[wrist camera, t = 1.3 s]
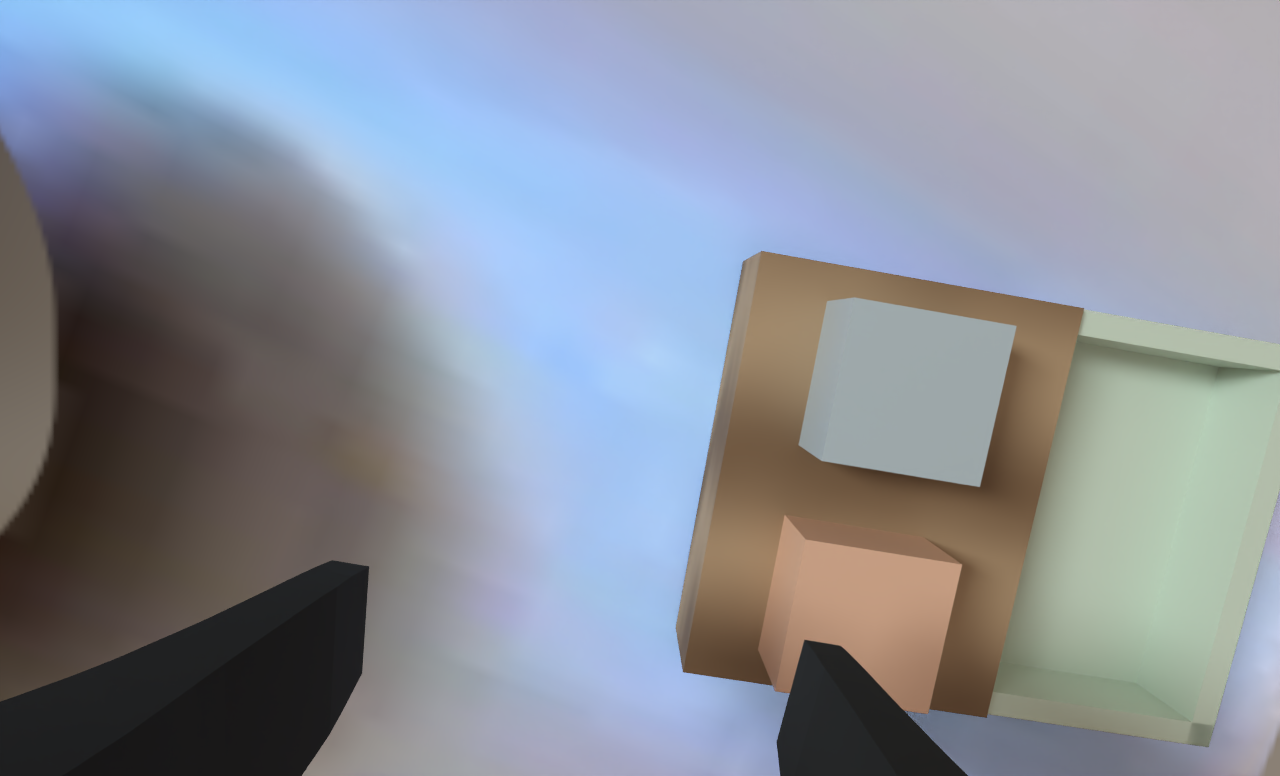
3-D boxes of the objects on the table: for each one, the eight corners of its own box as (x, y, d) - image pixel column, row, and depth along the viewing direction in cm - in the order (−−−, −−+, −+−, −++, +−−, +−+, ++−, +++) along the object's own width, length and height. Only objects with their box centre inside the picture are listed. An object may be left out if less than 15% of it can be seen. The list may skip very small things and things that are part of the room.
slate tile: (938, 468, 17) (980, 487, 15) (798, 445, 17) (821, 461, 15) (970, 325, 17) (1016, 326, 15) (827, 300, 16) (854, 297, 14)
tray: (1141, 698, 21) (1208, 747, 18) (941, 668, 20) (982, 713, 18) (1233, 348, 19) (1317, 351, 17) (1022, 310, 19) (1078, 308, 17)
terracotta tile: (893, 670, 18) (927, 713, 16) (758, 649, 17) (774, 690, 15) (923, 537, 17) (962, 564, 15) (784, 514, 17) (805, 539, 15)
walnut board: (941, 668, 20) (986, 717, 18) (675, 627, 20) (683, 672, 17) (1022, 310, 19) (1084, 308, 17) (743, 261, 19) (761, 251, 16)
